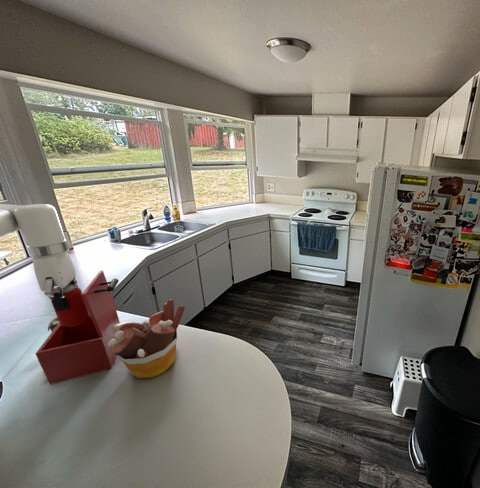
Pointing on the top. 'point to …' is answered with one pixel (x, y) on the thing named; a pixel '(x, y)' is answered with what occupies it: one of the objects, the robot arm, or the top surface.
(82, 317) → the beverage can
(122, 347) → the bucket of meat
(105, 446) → the top surface
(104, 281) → the lid
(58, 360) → the red hinged box
